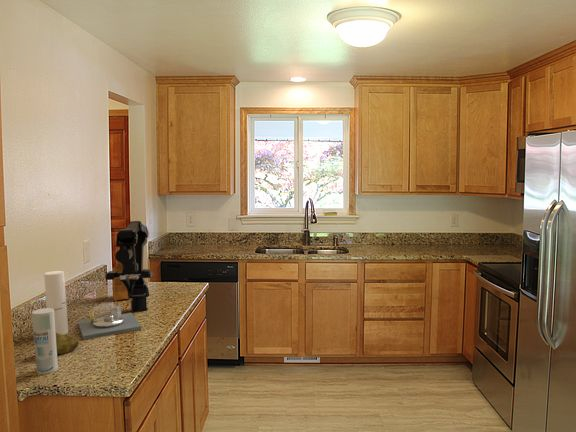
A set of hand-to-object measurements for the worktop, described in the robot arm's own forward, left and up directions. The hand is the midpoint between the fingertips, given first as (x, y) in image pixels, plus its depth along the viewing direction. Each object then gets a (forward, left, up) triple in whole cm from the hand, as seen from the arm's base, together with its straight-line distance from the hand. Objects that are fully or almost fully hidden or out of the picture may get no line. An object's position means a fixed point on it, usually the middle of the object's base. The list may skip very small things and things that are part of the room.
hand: (130, 293), depth 208 cm
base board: (+10, +4, -12) cm, 16 cm away
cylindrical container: (+29, +1, -12) cm, 31 cm away
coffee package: (-3, -42, -12) cm, 44 cm away
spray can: (+34, +40, -12) cm, 54 cm away
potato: (+30, +25, -12) cm, 41 cm away
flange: (+10, +2, -10) cm, 14 cm away
